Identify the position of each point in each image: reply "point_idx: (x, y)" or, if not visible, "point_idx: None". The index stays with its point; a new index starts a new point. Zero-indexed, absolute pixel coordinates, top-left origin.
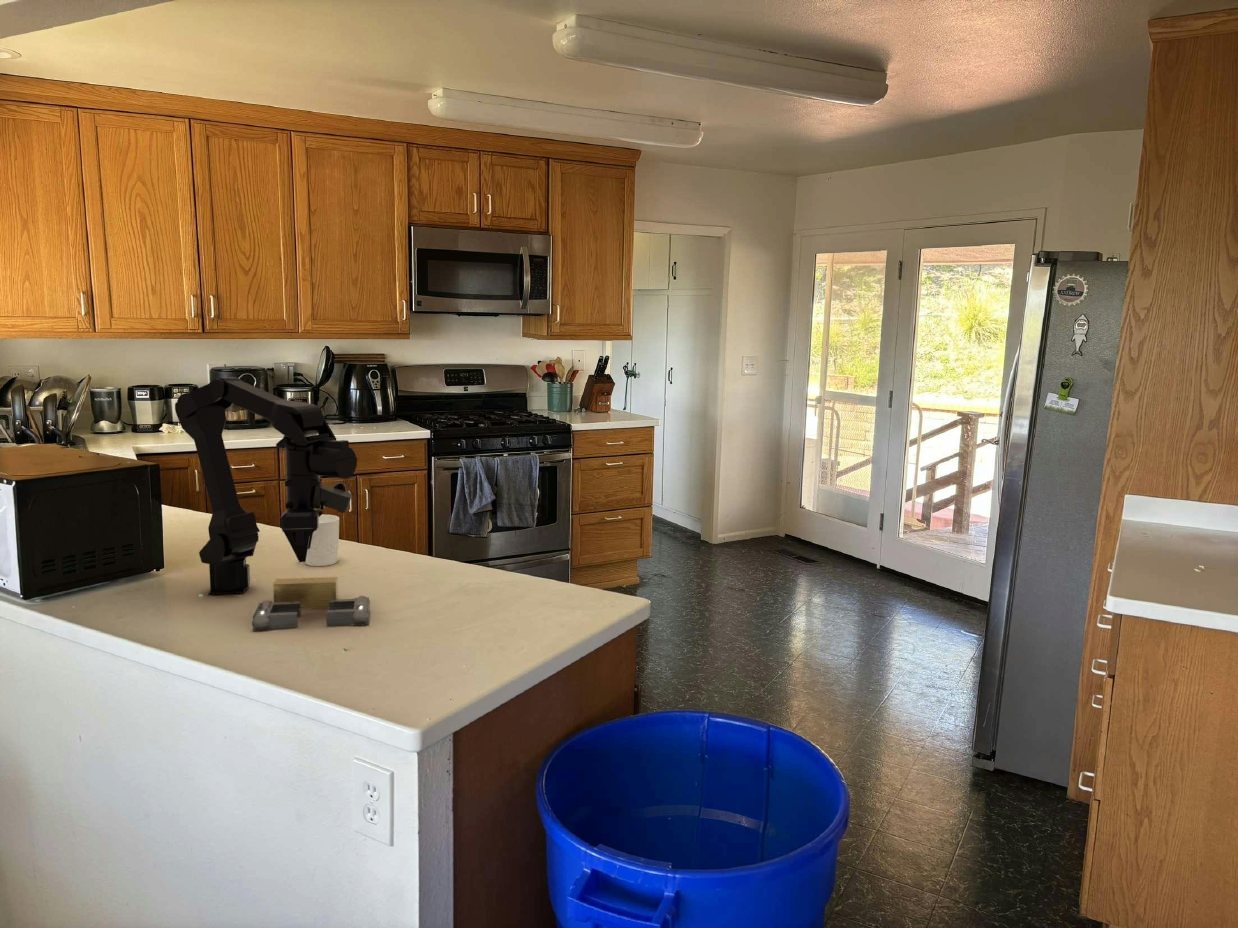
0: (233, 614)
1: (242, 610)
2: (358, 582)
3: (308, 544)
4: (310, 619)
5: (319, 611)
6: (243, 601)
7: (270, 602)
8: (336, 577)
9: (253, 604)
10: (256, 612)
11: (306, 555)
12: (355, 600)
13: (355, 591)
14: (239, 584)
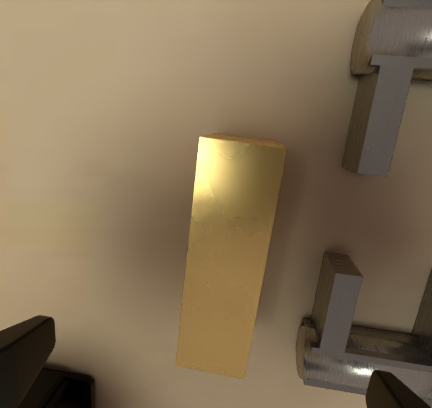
0: (262, 404)
1: (234, 385)
2: (8, 50)
3: (33, 343)
4: (386, 227)
5: (311, 197)
6: (157, 378)
7: (323, 359)
8: (207, 141)
9: None
10: None
11: (415, 403)
12: (408, 63)
13: (114, 65)
14: (64, 400)
